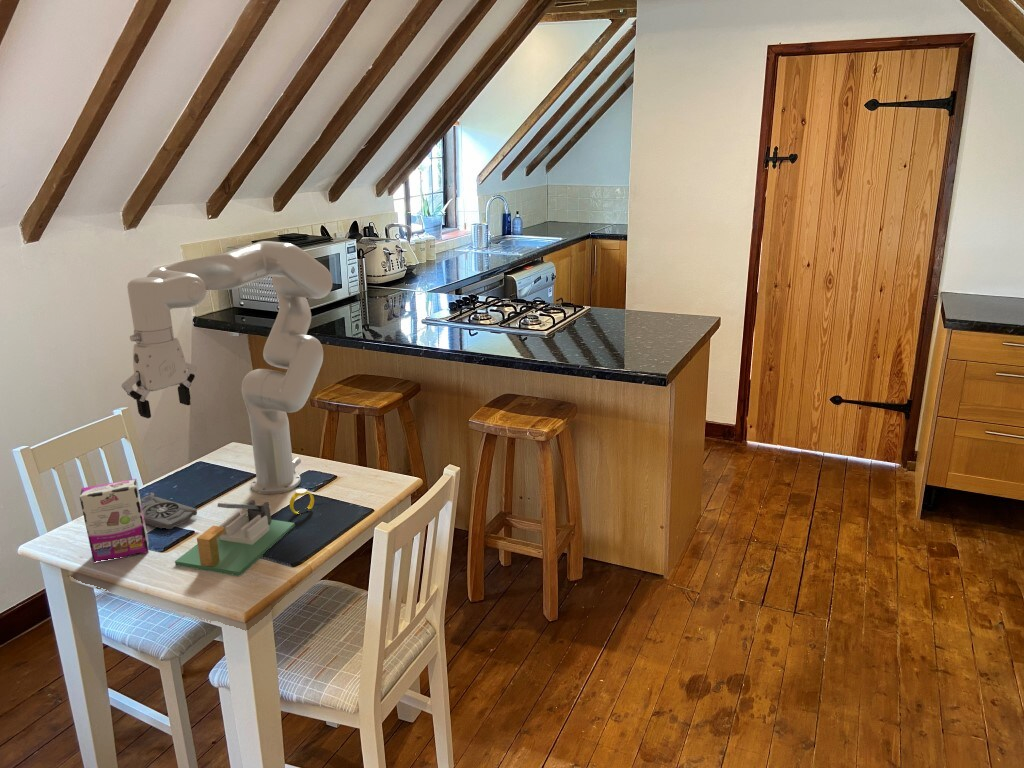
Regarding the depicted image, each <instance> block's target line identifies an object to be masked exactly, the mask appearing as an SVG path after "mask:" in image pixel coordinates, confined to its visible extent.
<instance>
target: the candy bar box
mask: <svg viewBox="0 0 1024 768" xmlns="http://www.w3.org/2000/svg"><path fill="white" fill-rule="evenodd" d="M141 499H142V498H141V495H140V491H139V485H138V480H137V478H133V479H127V480H120V481H116V482H110V483H104V484H98V485H93V486H86V487H82V488H81V491H80V495H79V501H80V505H81V510H82V514H83V518H84V523H85V528H86V532H87V533H86V534H87V537H88V542H89V546H90V552H91V557H92V561H93V563H94V562H96V561H101V560H108V559H114V558H119V559H121V558H120V557H124V558H128V556H129V557H134V556H137V555H142V554H147V553H149V545H150V543H149V542H150V541H149V537H148V531H147V526H146V525H147V524H146V523H145V520H144V515H143V510H142V505H141V503H142V500H141ZM114 560H115V559H114Z"/></svg>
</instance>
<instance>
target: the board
mask: <svg viewBox="0 0 1024 768" xmlns="http://www.w3.org/2000/svg"><path fill="white" fill-rule="evenodd" d="M246 504H250V505H254V504H256V500H255V499H251V500H249V501H248V502H247V503H246ZM260 505H261V510H260V509H246V511H247V512H243V513H241V512H240V511H237V512H235V513H234V514H233V515H231V516H230V517H229V518H228V519H226V520H225V521H223V523H221V524H219V526H220V527H225V529H226V532H224V533H223V534H222V535H221V536H219V537H218V538H217V545H218V552H219V559H220V561H219V562H218V563H217V564H216V565H215V566H213V567H210V566H204V565H201V563H200V556H199V550H198V543H196V544H195V545H194V546H193V547H192V548H190V549H188V551H186V552H185V553H184V554H182V555H181V556H180V557H179V558H177V559H176V560H174V564H175V565H174V566H178V567H185V568H189V569H195V570H200V571H201V570H202V571H207V572H213V573H219V574H225V575H230V576H236V577H241V576H242V575H243V574H244V573H245V572H246V571H247V570H248V569H249V568H251V567H252V566H253V565H254V564H255V563H256V562H258V560H260V559H261V558H262V557H263V556H264V555H265V554H266V553H267V552H268V551H269V550H268V549H269V548H271V547H272V546H273V545H274V544H275V543H276V542H277V541H278V540H279V539H281V538H282V537H283V536H284V535H285V534H286V533H287V532H288V531H289V530H290V529H292V528H293V527H294V526H295V527H296V524H295V522H290V521H285V520H276V519H272V516H271V508H270V502H269V501H265V502H263V503H262V504H260ZM295 527H294V528H295ZM294 528H293V529H294ZM293 529H292V530H293ZM287 534H288V533H287ZM287 534H286V535H287ZM286 535H285V536H286ZM285 536H284V537H285ZM284 537H283V538H284ZM283 538H282V539H283ZM282 539H281V540H282ZM277 543H278V542H277ZM277 543H276V544H277ZM276 544H275V545H276ZM275 545H274V546H275ZM274 546H273V547H274ZM273 547H272V548H273ZM272 548H271V549H272ZM267 550H268V551H267ZM266 551H267V552H266ZM265 552H266V553H265ZM264 553H265V554H264ZM263 554H264V555H263Z"/></svg>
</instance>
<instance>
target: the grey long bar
mask: <svg viewBox="0 0 1024 768" xmlns="http://www.w3.org/2000/svg"><path fill="white" fill-rule="evenodd" d="M261 505H262V504H256V503H255V504H254V505H250V504H247V503H226V502H218V503H217V508H223V509H238V510H239V509H242V510H248V509H260V510H261Z"/></svg>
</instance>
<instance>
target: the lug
mask: <svg viewBox="0 0 1024 768" xmlns="http://www.w3.org/2000/svg"><path fill="white" fill-rule="evenodd" d="M224 532H226V529H225V527H220V525H212V526H210V527H209V528H208V529H207V530H206V531H204V532H203V533H201V534H200V535H199V536H197V537H196V541H197V543H196V544H198V550H199V556H200V563H201V565H204V566H210V567H213V566H215V565H216V564H217V563H218V562H219V561H220V559H219V552H218V545H217V538H218V537H219V536H221V535H222V534H223V533H224Z"/></svg>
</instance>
